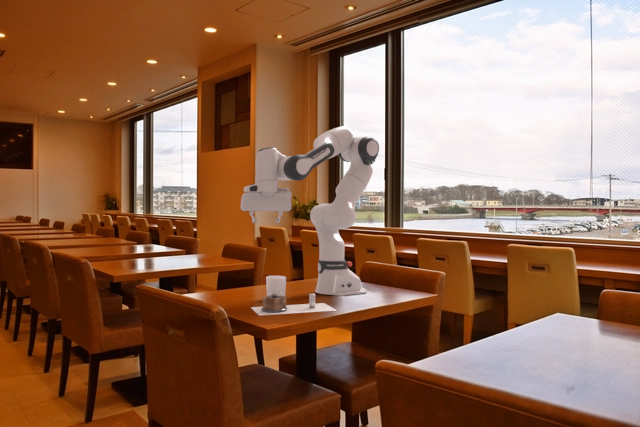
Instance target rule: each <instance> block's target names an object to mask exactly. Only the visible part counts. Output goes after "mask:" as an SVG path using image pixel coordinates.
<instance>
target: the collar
mask: <svg viewBox="0 0 640 427" xmlns="http://www.w3.org/2000/svg"><path fill="white" fill-rule="evenodd" d="M271 296H272V295H269V296H267V295H266V296H263V297H262V307H263V309H267V310H276V311H278V310H281V309H284V308H286V305H287V295H285V296H278V295H277V296H278V297H279V298H269V297H271Z"/></svg>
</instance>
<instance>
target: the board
mask: <svg viewBox="0 0 640 427" xmlns="http://www.w3.org/2000/svg"><path fill="white" fill-rule="evenodd" d="M262 307H263V306H253V307H250V309H252V310H253V312H255V314H257V315H258V316H259V317H260V316H271V315H272V316H273V315H274V316H275V315H290V314H292V315H293V314H303V313H306V314H308V313H317V312H318V313H321V312H337V311H338V309H335V308H334V307H332V306H330V305H328V304H327V303H324V302H319V303H316V302H315V308H309V303H304V304H303V303H302V304H286V307H287V311H285V312H279V313H268V312H263V311H262V310H261V308H262Z"/></svg>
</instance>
